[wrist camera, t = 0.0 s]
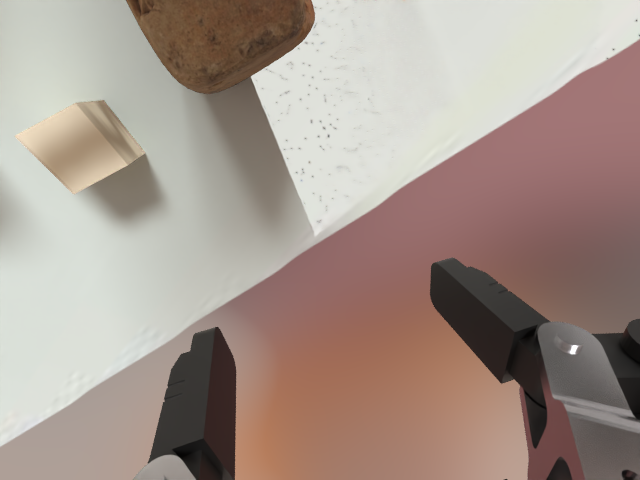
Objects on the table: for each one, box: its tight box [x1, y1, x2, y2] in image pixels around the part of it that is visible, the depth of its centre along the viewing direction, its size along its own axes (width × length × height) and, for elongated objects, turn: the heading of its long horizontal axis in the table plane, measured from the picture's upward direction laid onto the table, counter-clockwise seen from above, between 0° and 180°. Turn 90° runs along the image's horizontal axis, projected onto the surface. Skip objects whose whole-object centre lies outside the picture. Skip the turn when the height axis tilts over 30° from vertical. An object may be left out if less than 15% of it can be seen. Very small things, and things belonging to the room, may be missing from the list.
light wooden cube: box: [15, 100, 145, 194], centre depth 29 cm, size 6×6×6 cm
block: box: [126, 0, 315, 94], centre depth 21 cm, size 11×8×20 cm
